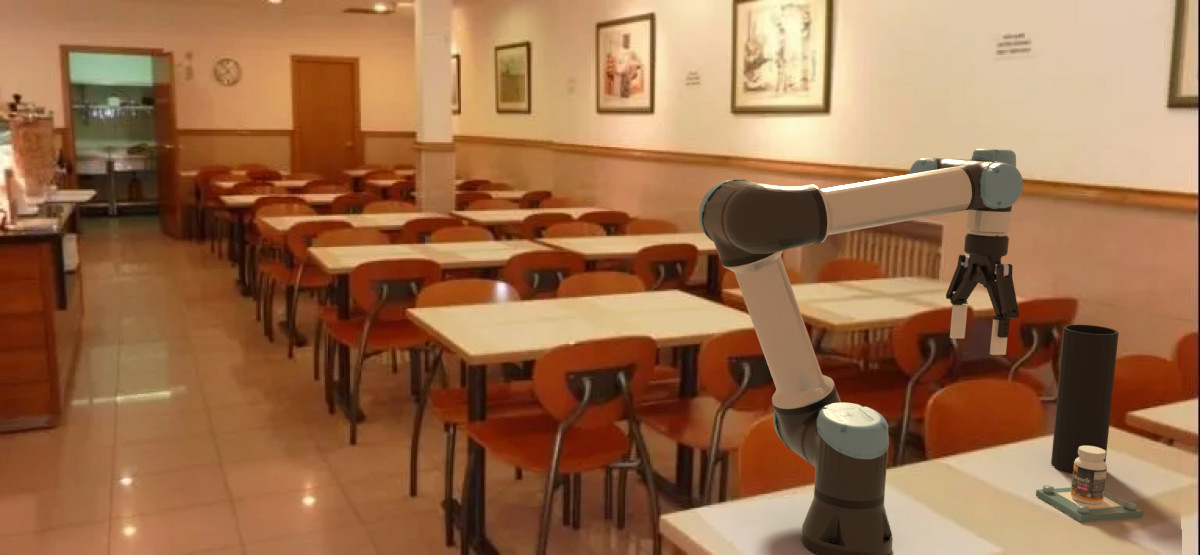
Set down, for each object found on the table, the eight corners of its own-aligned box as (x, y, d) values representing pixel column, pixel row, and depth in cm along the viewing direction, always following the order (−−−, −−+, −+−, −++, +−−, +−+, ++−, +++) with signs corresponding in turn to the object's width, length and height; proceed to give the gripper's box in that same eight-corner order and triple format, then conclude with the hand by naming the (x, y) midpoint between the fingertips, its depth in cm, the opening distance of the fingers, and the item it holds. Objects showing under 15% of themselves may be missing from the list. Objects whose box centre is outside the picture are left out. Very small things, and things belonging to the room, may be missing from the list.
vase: (1113, 476, 204) (1128, 335, 199) (1065, 475, 204) (1078, 334, 199) (1089, 459, 214) (1102, 324, 209) (1042, 459, 214) (1055, 324, 209)
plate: (1080, 521, 180) (1081, 510, 180) (1035, 495, 193) (1036, 484, 192) (1142, 517, 183) (1143, 506, 182) (1094, 491, 195) (1095, 481, 195)
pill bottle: (1063, 496, 189) (1068, 446, 187) (1084, 492, 191) (1089, 443, 189) (1089, 506, 184) (1094, 455, 182) (1110, 502, 186) (1115, 452, 184)
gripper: (1048, 241, 170) (1035, 361, 173) (968, 226, 194) (959, 331, 197) (1008, 241, 168) (997, 362, 171) (933, 225, 192) (924, 332, 196)
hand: (976, 346), depth 184 cm, fingers open, 13 cm apart
